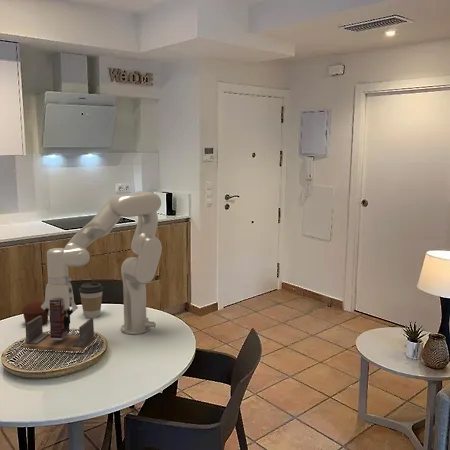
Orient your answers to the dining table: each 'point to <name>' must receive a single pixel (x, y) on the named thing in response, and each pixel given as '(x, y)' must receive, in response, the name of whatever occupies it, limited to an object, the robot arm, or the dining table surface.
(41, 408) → the dining table surface
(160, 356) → the dining table surface
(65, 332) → the supplement box
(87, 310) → the coffee cup
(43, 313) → the muffin
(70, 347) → the shelf
